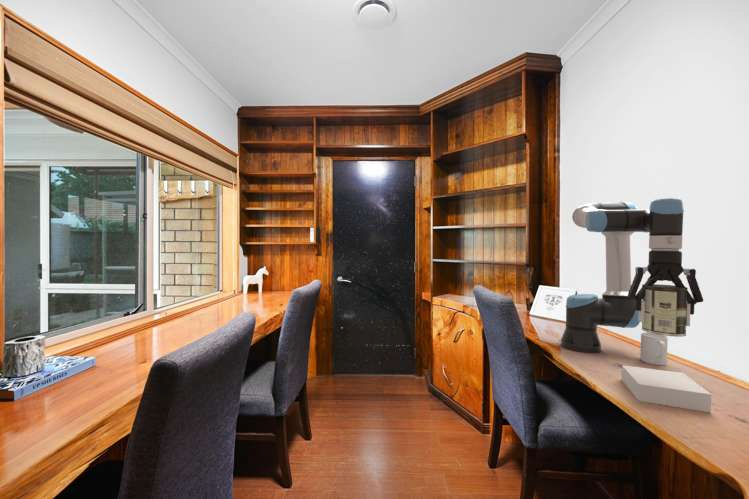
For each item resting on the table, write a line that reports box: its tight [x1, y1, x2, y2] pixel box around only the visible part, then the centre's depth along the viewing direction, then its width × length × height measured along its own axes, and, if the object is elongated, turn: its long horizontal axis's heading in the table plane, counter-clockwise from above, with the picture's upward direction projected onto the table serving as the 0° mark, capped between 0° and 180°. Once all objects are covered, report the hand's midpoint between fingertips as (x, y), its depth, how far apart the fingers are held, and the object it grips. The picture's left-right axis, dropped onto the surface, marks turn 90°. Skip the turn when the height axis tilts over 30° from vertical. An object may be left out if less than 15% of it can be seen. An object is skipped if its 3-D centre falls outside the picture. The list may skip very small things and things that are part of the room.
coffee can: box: [641, 283, 689, 338], centre depth 99 cm, size 10×10×14 cm
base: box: [621, 364, 712, 413], centre depth 99 cm, size 16×16×5 cm
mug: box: [639, 331, 669, 366], centre depth 125 cm, size 12×8×10 cm, turn 159°
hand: (663, 323), depth 99 cm, fingers closed on coffee can, 10 cm apart
